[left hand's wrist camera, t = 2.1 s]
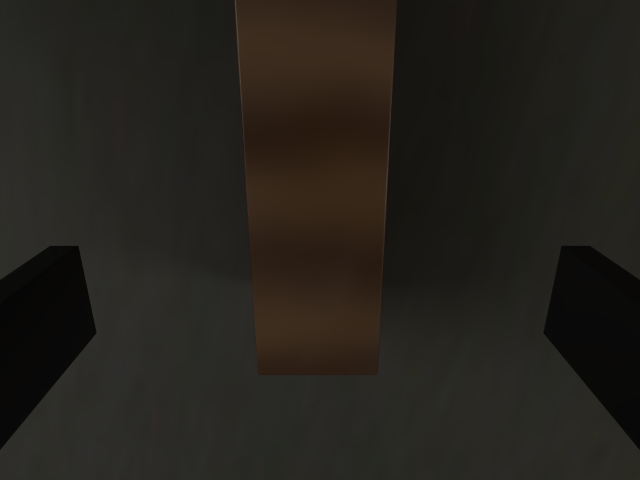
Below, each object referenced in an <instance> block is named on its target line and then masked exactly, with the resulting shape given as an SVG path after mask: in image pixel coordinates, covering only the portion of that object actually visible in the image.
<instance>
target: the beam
mask: <svg viewBox="0 0 640 480" xmlns="http://www.w3.org/2000/svg"><path fill="white" fill-rule="evenodd" d="M234 5H235V20H236V36H237V52H238V68H239V84H240V99H241V115H242V131H243V147H244V163H245V178H246V194H247V210H248V226H249V242H250V257H251V273H252V289H253V305H254V321H255V336H256V352H257V368H258V375H377V373H378V357H379V338H380V319H381V300H382V282H383V263H384V244H385V225H386V206H387V188H388V169H389V150H390V131H391V112H392V94H393V75H394V56H395V37H396V18H397V0H234Z"/></svg>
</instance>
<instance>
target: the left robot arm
mask: <svg viewBox="0 0 640 480" xmlns="http://www.w3.org/2000/svg"><path fill="white" fill-rule="evenodd" d="M95 334H96V328H95V323H94V319H93V314H92V309H91V304H90V300H89V295H88V290H87V285H86V280H85V276H84V271H83V266H82V261H81V257H80V252H79V247H78V246H49V247H48V248H46V249H45V250H43V251H42V252H41V253H39V254H38V255H36V256H35V257H33V258H32V259H30V260H29V261H27V262H26V263H24V264H23V265H22V266H20V267H19V268H17V269H16V270H14V271H13V272H11V273H10V274H8V275H7V276H5V277H4V278H2V279H1V280H0V449H1V448H2V447H3V446H4V445H5V443H6V442H7V441H8V440H9V439H10V437H11V436H12V435H13V434H14V432H15V431H16V430H17V429H18V428H19V426H20V425H21V424H22V423H23V422H24V420H25V419H26V418H27V417H28V415H29V414H30V413H31V412H32V411H33V409H34V408H35V407H36V406H37V405H38V403H39V402H40V401H41V400H42V398H43V397H44V396H45V395H46V394H47V392H48V391H49V390H50V389H51V388H52V386H53V385H54V384H55V383H56V381H57V380H58V379H59V378H60V377H61V375H62V374H63V373H64V372H65V371H66V369H67V368H68V367H69V366H70V365H71V363H72V362H73V361H74V360H75V358H76V357H77V356H78V355H79V354H80V352H81V351H82V350H83V349H84V348H85V346H86V345H87V344H88V343H89V341H90V340H91V339H92V338H93V337H94V335H95ZM544 334H545V335H546V337H547V338H548V339H549V340H550V341H551V343H552V344H553V345H554V346H555V348H556V349H557V350H558V351H559V352H560V354H561V355H562V356H563V357H564V358H565V360H566V361H567V362H568V363H569V365H570V366H571V367H572V368H573V369H574V371H575V372H576V373H577V374H578V375H579V377H580V378H581V379H582V380H583V381H584V383H585V384H586V385H587V386H588V388H589V389H590V390H591V391H592V392H593V394H594V395H595V396H596V397H597V398H598V400H599V401H600V402H601V403H602V405H603V406H604V407H605V408H606V409H607V411H608V412H609V413H610V414H611V415H612V417H613V418H614V419H615V420H616V422H617V423H618V424H619V425H620V426H621V428H622V429H623V430H624V431H625V432H626V434H627V435H628V436H629V437H630V439H631V440H632V441H633V442H634V443H635V445H636V446H637V447H638V448H639V449H640V280H639V279H638V278H636V277H635V276H633V275H632V274H630V273H629V272H627V271H626V270H624V269H623V268H621V267H620V266H618V265H617V264H616V263H614V262H613V261H611V260H610V259H608V258H607V257H605V256H604V255H602V254H601V253H599V252H598V251H597V250H595V249H594V248H592V247H591V246H562V247H561V252H560V257H559V261H558V266H557V271H556V276H555V280H554V285H553V290H552V295H551V300H550V304H549V309H548V314H547V319H546V323H545V328H544Z"/></svg>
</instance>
